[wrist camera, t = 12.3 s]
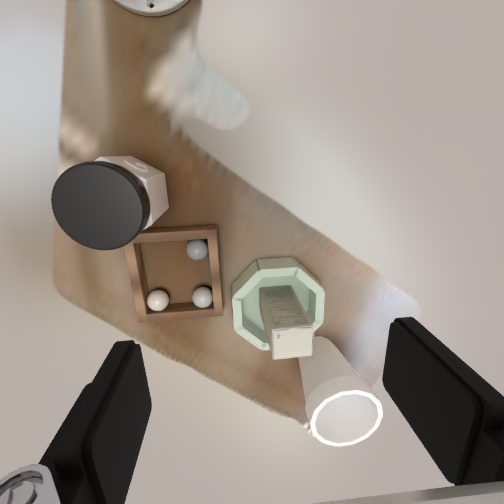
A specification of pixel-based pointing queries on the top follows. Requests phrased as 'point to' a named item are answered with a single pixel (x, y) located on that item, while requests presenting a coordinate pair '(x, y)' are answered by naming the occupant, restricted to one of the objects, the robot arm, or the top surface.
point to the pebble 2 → (197, 249)
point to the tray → (140, 280)
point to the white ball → (202, 297)
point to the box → (285, 323)
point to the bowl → (268, 276)
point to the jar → (109, 201)
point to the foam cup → (337, 397)
